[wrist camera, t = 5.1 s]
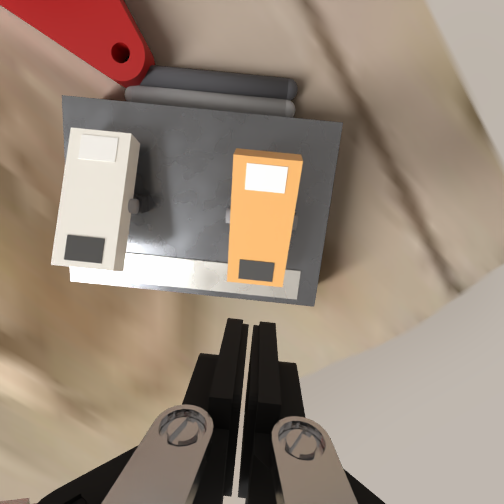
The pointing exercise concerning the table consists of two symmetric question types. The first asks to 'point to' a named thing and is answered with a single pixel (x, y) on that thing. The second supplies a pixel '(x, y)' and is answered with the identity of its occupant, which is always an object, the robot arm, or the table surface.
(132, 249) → the breaker strip
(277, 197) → the breaker lever
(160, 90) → the twin grey rods
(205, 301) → the table surface
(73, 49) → the lever
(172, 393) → the table surface
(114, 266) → the block
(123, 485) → the robot arm
